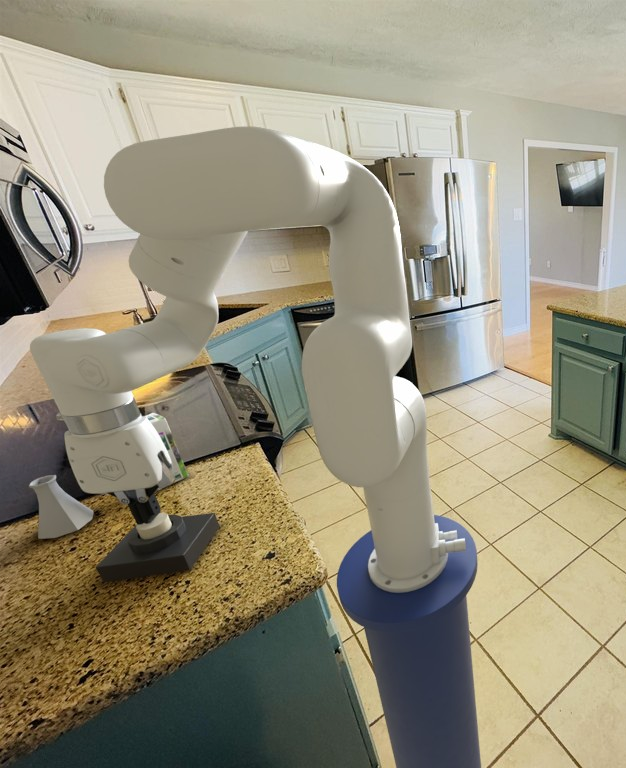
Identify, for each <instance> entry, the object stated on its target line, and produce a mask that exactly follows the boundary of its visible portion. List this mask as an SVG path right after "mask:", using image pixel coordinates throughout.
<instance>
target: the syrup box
mask: <svg viewBox="0 0 626 768" xmlns="http://www.w3.org/2000/svg"><path fill="white" fill-rule="evenodd" d="M145 416H146V417H147V419H148V420H149V421H150V422H151V424H152V425H153V427H154V428H155V430H156V431H157V433H158V434H159V436H160V438H161V440H162V441H163V443H164V445H165V447H166V449H167V452H168V454H169V456H170V459H171V462H172V466H173V468H172V470H171V473H172V474H173V475H174V477H175V478H176V480H175V481H174V482H173V483H172V484H171V485H173V484H175V483H177V482H180V481H182V480H185V479H187V478H188V477H189V472H188V471H187V468H186V465H185V464H184V463H185V462H184V461H183V458H182V456H181V453H180V451H179V448H178V446H177V443H176V441H175V439H174V435H173V434H172V431H171V429H170V426H169V424H168V421H167V419H166V418H165V417H164V416H162V415H160V414H158V413H155V412H151V413H149V414H146V415H145ZM162 489H163V488H159V489H158V490H157V491H158V492H159V491H162Z"/></svg>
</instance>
